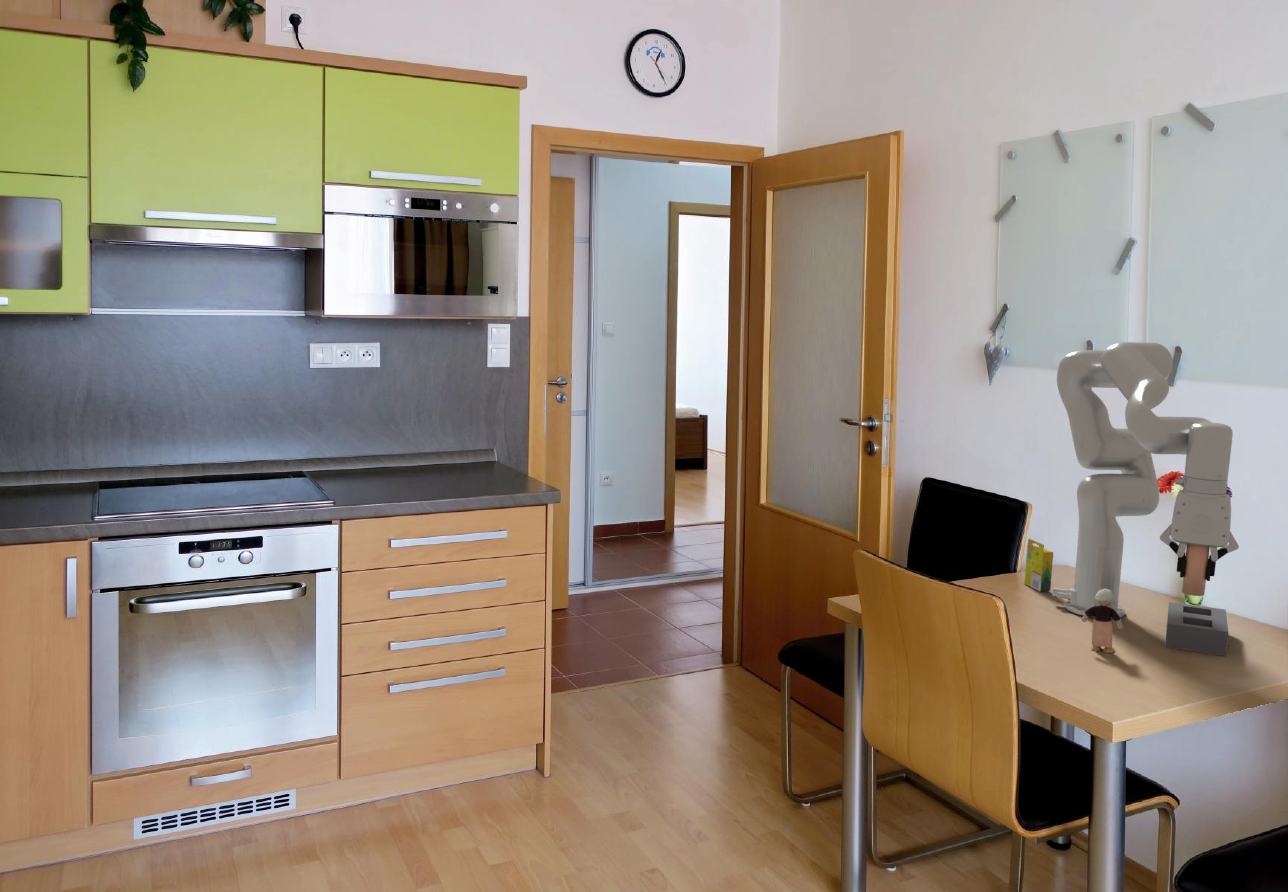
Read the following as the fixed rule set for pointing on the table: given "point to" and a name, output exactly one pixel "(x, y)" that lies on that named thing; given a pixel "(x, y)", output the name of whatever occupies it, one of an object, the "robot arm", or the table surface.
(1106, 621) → the grandmother figurine
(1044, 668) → the table surface
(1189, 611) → the socket block
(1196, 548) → the terracotta peg
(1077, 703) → the table surface
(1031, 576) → the crayon box
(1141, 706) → the table surface
